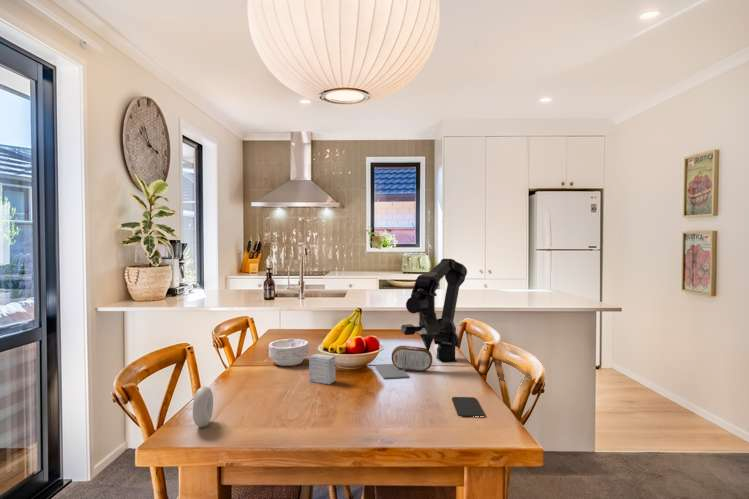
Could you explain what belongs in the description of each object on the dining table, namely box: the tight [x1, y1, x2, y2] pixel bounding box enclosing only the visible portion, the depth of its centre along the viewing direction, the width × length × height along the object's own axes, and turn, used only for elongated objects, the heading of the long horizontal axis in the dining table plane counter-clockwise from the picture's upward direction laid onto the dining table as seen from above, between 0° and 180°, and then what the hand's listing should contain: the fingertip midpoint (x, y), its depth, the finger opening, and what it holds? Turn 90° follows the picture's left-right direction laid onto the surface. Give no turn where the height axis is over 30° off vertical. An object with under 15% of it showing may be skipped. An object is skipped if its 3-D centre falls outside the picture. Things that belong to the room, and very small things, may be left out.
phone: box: [451, 396, 486, 418], centre depth 132 cm, size 7×1×15 cm
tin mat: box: [374, 363, 410, 380], centre depth 166 cm, size 9×16×1 cm, turn 11°
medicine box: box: [308, 353, 336, 385], centre depth 155 cm, size 8×4×9 cm, turn 65°
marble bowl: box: [268, 338, 310, 367], centre depth 177 cm, size 15×15×8 cm
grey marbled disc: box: [192, 385, 214, 428], centre depth 118 cm, size 10×3×10 cm, turn 6°
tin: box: [391, 345, 433, 372], centre depth 168 cm, size 15×3×8 cm, turn 85°
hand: (427, 351), depth 169 cm, fingers closed
